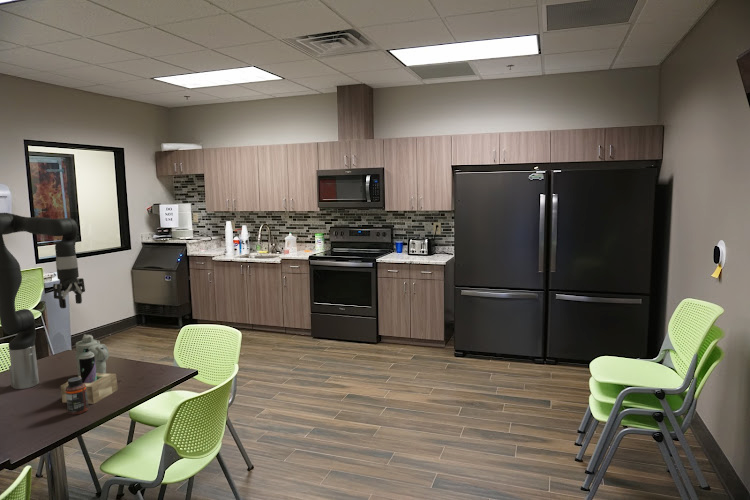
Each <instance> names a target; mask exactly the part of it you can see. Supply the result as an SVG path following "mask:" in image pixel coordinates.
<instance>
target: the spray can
mask: <svg viewBox="0 0 750 500" xmlns="http://www.w3.org/2000/svg"><path fill="white" fill-rule="evenodd" d="M79 363H80V373H81V378H82V383H92V382H94V381H96V380H97V376H96V366H95V356H94V353H93V352H90V350H89V349H88V348H84V351H83V352H82V353H81V354H80V355H79Z"/></svg>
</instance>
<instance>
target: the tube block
mask: <svg viewBox="0 0 750 500" xmlns="http://www.w3.org/2000/svg"><path fill="white" fill-rule="evenodd" d="M96 376H97V380H96V381H94V382H92V383H84V384H85V385H86V390H87V398H88V405H90V404H92V405H94V404H96V403H97V402H99V401H101V400H103V399H105V398H107V397H108V396H110V395H111V394H113V393H115V392H117V391H118V381H117V380H118V379H117V374H116V373H106V374H104V373H96ZM78 377H81V376H78ZM68 385H69V384H68V381H66V382H65V383H63V384H61V385H60V392H61V394H60V395H61V401H62V402H61V403H66V404H67V398H66V387H67V386H68Z"/></svg>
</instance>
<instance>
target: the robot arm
mask: <svg viewBox="0 0 750 500" xmlns="http://www.w3.org/2000/svg"><path fill="white" fill-rule="evenodd" d="M78 231H79V228H78V223H77V222H76V220H74V218H71V217H66V218H51V217H42V216H41V217H40V216H37V217H35V216H32V217H31V216H29V217H28V216H23V215H22V216H21V215H17V214H14V213H10V212H0V327H1V329H2V330H3V332H4V333H5V334H7V335H15V334H16V336H15V337H14V338H13V339H11V340H10V341H9V342H8V352H9V359H10V360H9V361H10V365H9V367H8V369H9V378H10V384H11V385H10V386H11V387H10V388H13V389H14V390H23V389H29V388H32V387H35V386H37V385H38V384H39V383H40V380H39V379H40V378H39V370H38V361H37V353H36V343H35V342H36V339H37V336H36V335H37V334H36V333H37V332H36V320H35V316H34V313H33V311H31V310H29V309H27V308H25V309H24V308H23V309H18V310H16V297H17V294H18V291H19V290H20V287H21V285H22V281H23V276H22V270H21V269H22V268H21V266H20V263H19V261H18V260H17V258H16V257H15V256H14V255H13V253H11V251H10V250H9V249H8V248H7V246H6V244H5V240H4V235H5V236H6V235H9V234H13V233H20V232H21V233H22V232H25V233H30V234H32V235H33V234H34V235H45V236H50V237H61V240H60V241H58V242H56V243H55V246H54V247H55V248H54V249H55V250H54V251H55V267H56V274H57V275H56V276H57V280H59V283H53V285H52V286H53V299H55V300H58V302H59V303H58V304H59V305H58V306H59V307H60V309H66V308H67V301H66V298H67V295H68V294H69V293H70V292H73V294H75V297H74V298H75V304H77V305H78V304H82V303H83V302H82V301H83V297H82V295H83V293H85V292H86V287H85V286H86V285H85V282H84V281H85V280H84V278H81V277H80V275H79V266H78V265H79V263H78V259H77V253H76V242H77V237H78V233H79V232H78ZM79 277H80V278H79Z"/></svg>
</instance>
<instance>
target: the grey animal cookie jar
mask: <svg viewBox="0 0 750 500" xmlns="http://www.w3.org/2000/svg"><path fill="white" fill-rule="evenodd" d="M84 348H88V349H89V350H90V352H93V353H94V356H95V366H96V373H104V374H107V363H106V362H107V361H108V359H109V357H110V351H109V348H108V346H107V345H106V344H104V343H101V342H100V340H97V339H94V336H93V335H92V334H83V337H82V339H81V340H80V341H77V342H75V349H76V352H75V357H74V358H75V362H76V369H77V377H79V376H81V373H80V363H79V355H80V354H81V353H82V352H83V351H84Z"/></svg>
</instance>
